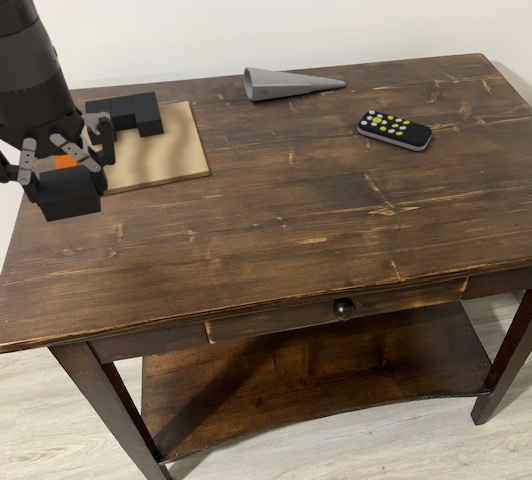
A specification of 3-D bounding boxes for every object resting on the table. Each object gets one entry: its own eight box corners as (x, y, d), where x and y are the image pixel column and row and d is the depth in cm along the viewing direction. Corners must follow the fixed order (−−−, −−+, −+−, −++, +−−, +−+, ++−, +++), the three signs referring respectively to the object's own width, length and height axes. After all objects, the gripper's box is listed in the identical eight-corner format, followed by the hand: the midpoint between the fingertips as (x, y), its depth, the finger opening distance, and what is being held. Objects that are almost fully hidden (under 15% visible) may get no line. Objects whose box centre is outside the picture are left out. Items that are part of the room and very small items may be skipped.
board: (87, 198, 82) (85, 193, 81) (82, 122, 95) (80, 117, 95) (209, 175, 87) (208, 170, 86) (188, 105, 100) (187, 100, 99)
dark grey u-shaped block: (92, 145, 89) (86, 131, 87) (89, 116, 95) (84, 101, 93) (164, 133, 92) (161, 119, 90) (157, 105, 98) (154, 91, 96)
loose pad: (47, 222, 61) (37, 203, 59) (48, 176, 67) (39, 157, 64) (101, 212, 63) (94, 193, 60) (98, 167, 68) (91, 149, 66)
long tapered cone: (337, 54, 106) (244, 60, 100) (349, 73, 103) (253, 81, 96) (332, 78, 111) (242, 85, 104) (343, 97, 107) (251, 106, 101)
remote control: (422, 154, 92) (424, 145, 90) (354, 133, 95) (355, 124, 94) (432, 135, 96) (435, 126, 94) (367, 116, 99) (368, 106, 98)
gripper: (-75, 99, 47) (4, 231, 59) (96, 76, 50) (137, 205, 62) (-62, 58, 51) (8, 187, 64) (93, 39, 55) (132, 166, 67)
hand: (72, 196), depth 63 cm, fingers closed on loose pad, 6 cm apart
